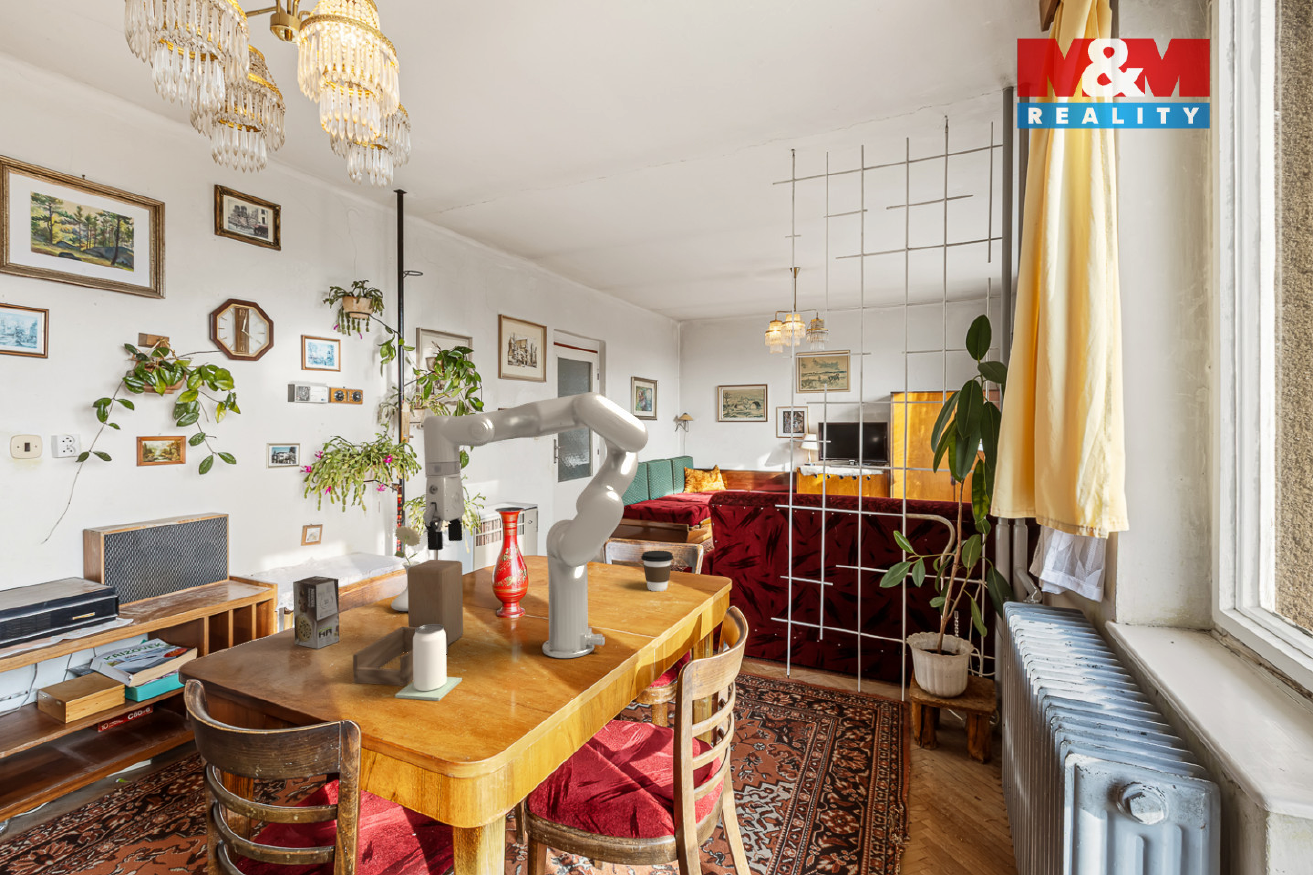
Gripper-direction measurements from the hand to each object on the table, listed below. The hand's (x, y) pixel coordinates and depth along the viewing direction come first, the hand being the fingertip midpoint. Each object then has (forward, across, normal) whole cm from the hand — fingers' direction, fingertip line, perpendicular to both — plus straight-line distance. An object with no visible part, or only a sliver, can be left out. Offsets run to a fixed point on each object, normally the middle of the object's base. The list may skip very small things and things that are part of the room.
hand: (445, 545), depth 134 cm
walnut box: (+28, -2, +10) cm, 30 cm away
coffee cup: (+30, +68, -40) cm, 84 cm away
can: (+27, -12, -1) cm, 30 cm away
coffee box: (+27, +11, +41) cm, 50 cm away
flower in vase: (+28, +41, +32) cm, 59 cm away
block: (+28, +14, +11) cm, 33 cm away
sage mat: (+28, -12, -1) cm, 30 cm away
